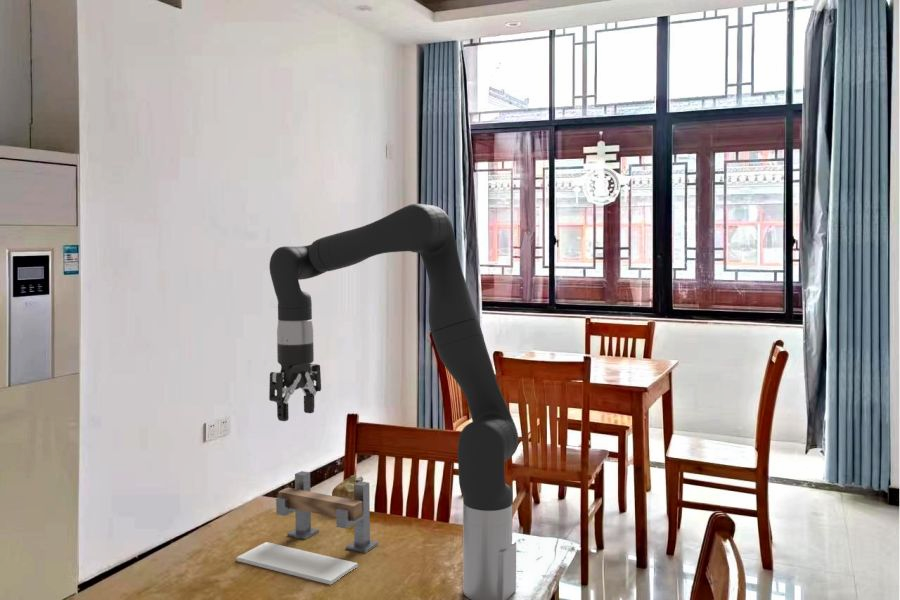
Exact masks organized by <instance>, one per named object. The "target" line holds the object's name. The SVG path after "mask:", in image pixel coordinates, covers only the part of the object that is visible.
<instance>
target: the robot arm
mask: <svg viewBox="0 0 900 600" xmlns="http://www.w3.org/2000/svg"><path fill="white" fill-rule="evenodd" d="M399 252H401V253H402V252H411V253H417V254H420V257H421V260H422V261H423V265H424V268H425V271H426V274H427V277H428V282H429V296H428V297H429V299H428V324H429V329H430V331H431V332H430V333H431V335H432V339H433V342H434V345H435V348H436V352H437V354H438V356H439V359H440V360H441V362H442V364H443V366H444V367H445V368H446V370H447V371H448V372H449V374H450V375H451V376H452V378H453V379H454V380H455V382H456V383H457V385H458V387H459V388H460V389H461V391H462V392H463V394H464V397H465V400H466V402H467V404H468V408H469V412H470V416H471V422H469V423H468V424H466V425H465V426H464V427H463V428H462V430H461V431H460V434H459V437H458V442H457V464H458V465H457V466H458V467H457V468H458V484H459V489H460V491H461V493H462V503H463V504H462V511H463V512H462V539H463V540H462V592H463V594H464V596H465V597H466V598H468V599H470V600H508V599H510V597H511V596H512V595H513V594H514V593H515V592H516V590H517V541H515V540H513V502H514V501H513V488H512V487H511V486H510V485H508V484H507V482H506V474H505V471H506V470H505V469H506V468H505V462H506V461H508V460H510V458H512V457H513V456H514V455H515V453H516V452H517V449H518V447H519V434H518V429H517V426H516V423H515V422H514V418H513V416H512V414H511V412H510V410H509V408H508V405H507V403H506V400H505V398H504V396H503V393H502V391H501V389H500V386H499V383H498V380H497V378H496V373H495V370H494V367H493V364H492V360H491V358H490V354H489V351H488V347H487V345H486V341H485V338H484V333H483V331H482V328H481V325H480V321H479V318H478V315H477V313H476V310H475V307H474V304H473V301H472V298H471V295H470V291H469V288H468V285H467V282H466V279H465V277H464V273H463V270H462V266H461V265H462V264H461V262H460V257H459V252H458V246H457V242H456V235H455V232H454V228H453V224H452V221H451V219H450V217H449V214H447V213H446V211H444V210H443V209H442V208H441V207H439V206H436V205H432V204H423V203H411V204H408V205H406V206H404V207H402V208H400V209H398V210H395V211H393V212H392V213H390V214H388V215H386V216H384V217H382V218H380V219H377V220H375V221H373V222H371V223H368V224H366V225H363V226H360V227H356V228H352V229H349V230H345V231H341V232H337V233H334V234H330V235H327V236H324V237H320V238H319V239H318V238H317V239H316V240H314V241H313V242H312V243H311V244H309V245H303V246H287V245H285V246H280V247H278V248H276V249H275V250H274V251H273V252H272V254H271V256H270V259H269V275H270V278H271V282H272V285H273V289H274V293H275V296H276V299H277V328H276V345H277V346H276V348H277V349H276V350H277V354H276V355H277V364H279V365H280V372H276V371H275V372H274V371H271V372H270V373H269V389H268V390H269V392H268V393H269V395H268V400H269V401H270V402H274V403H276V413H277V414H276V415H277V419H278V420H279V421H281V422H287V421H289V419H290V418H289V416H290V415H289V402H288V401H289V400H290V397H291V396H292V395H293V394H294V393H295V391H297V390H298V389H301V390H302V392H303V394H304V395H303V411H304V413H305V414H313V413H314V412H315V396H316V395H317V393H318V392H321V390H322V379H321V378H322V377H321V365H320V364H318V363H316V364H315V363H313V362H314V355H315V354H314V351H315V350H314V326H313V320H312V318H313V314H312V313H313V311H312V310H313V307H312V306H313V305H312V304H313V303H312V297H311V294H310V293H309V292H306V291H303V290H302V289H301V285H300V281H301V280H307V279H311V278H314V277H319V276H320V275H323V274H325V273H326V272H333V271H336V270H339V269H344V268H348V267H351V266H354V265H357V264H358V263H361V262H363V261H365V260H367V259H369V258H371V257H374V256H377V255H381V254H387V253H399Z"/></svg>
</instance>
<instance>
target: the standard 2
mask: <svg viewBox="0 0 900 600" xmlns="http://www.w3.org/2000/svg"><path fill="white" fill-rule="evenodd" d="M370 493H371V492H370V482H368V481H367V482H366V481H359V482H357V483H355V484H354V500H358V501H362V507H363V516H362V517H360V518H359V519H357V520H355V521H351V520H349V510H345V509H340V508H339V509H337V510H336V517H335V520H336V522H335V523H336V528H340V529H345V530H346V529H349V528H350V527H352V526H353V531H354V532H353V534H354V535H353V536H354V539H353V540H354V541H352V542H350V543H349V544H347V545H345V549H346V550H350V551H354V552H359V553H364V554H366V553H368V552H369V551H371V550H372V549H374V548H376V547H377V546H378V545H379V541H375V540H371V532H370V531H371V523H370V521H371V519H370V517H371V515H370V514H371V512H370V509H371V508H370V506H371V505H370V503H371V502H370V498H371V497H370Z"/></svg>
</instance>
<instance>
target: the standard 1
mask: <svg viewBox="0 0 900 600" xmlns="http://www.w3.org/2000/svg"><path fill="white" fill-rule="evenodd" d="M294 489H298V490H304V491H309V492H311V472H309V471H303V470H301V471H299V472H296V473H294ZM275 503H276V504H275V506H276V507H275V508H276V509H275V511H276V513H275V514H276V515H277V516H284V517H286V516H288V515H291V514H292V513H294V512H295V513H294V514H295V518H294V519H295V529H293V530H291V531H288V532H287V533H286V534H287V536H288V537H291V538H295V539H301V540H308V539H309V538H312V537H313V536H314V535H316V534H319V533H320V529H319V528H313V527H312V522H311V521H312V515H311V512H306V511H301V510H296V509H291V508H288V498H283V497H278V496H277V497H275Z"/></svg>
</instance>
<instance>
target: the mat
mask: <svg viewBox="0 0 900 600" xmlns="http://www.w3.org/2000/svg"><path fill="white" fill-rule="evenodd" d="M236 562H240V563H244V564H249V565H252V566H256V567H260V568H264V569H267V570H271V571H276V572H279V573H283V574H287V575H291V576H296V577H299V578H302V579H306V580H311V581H313V582H318V583H322V584H323V583H324V584H326V585H330V586H331V584H332V585H334V584H335V583H336V582H337V580H338V581H339V580H341V579H342V578H343V577H342V576H344V575H345V574H347V573H348V572H350V571H351V572H352V570H353V569H354V570H356V569H357V568H359V567H358V566H359V565H358V562H355V561H350V560H345V559H341V558H337V557H333V556H328V555H324V554H320V553H315V552H311V551H306V550H303V549H298V548H294V547H290V546H284V545H281V544H276V543H273V542H268V541H265V542H264V543H262V544H259V545H258V546H255V547H253V548H252V549H250V550H248V551H246V552H244V553H241V554H240V555H238V556H236ZM355 568H356V569H355ZM354 570H353V571H354ZM351 572H350V573H351ZM348 574H349V573H348ZM348 574H347V575H348ZM345 576H346V575H345ZM345 576H344V577H345ZM341 577H342V578H341ZM340 578H341V579H340ZM334 582H335V583H334Z"/></svg>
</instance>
